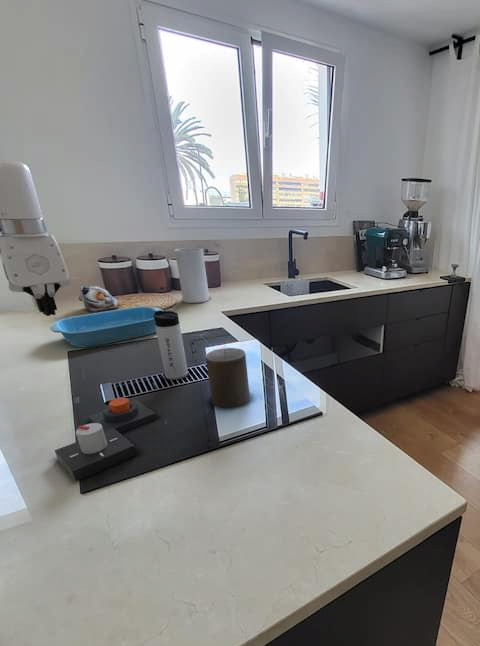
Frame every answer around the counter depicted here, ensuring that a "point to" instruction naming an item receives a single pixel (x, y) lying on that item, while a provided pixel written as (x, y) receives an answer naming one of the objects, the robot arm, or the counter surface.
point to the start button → (119, 405)
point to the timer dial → (91, 438)
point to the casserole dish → (107, 326)
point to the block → (124, 417)
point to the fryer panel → (95, 456)
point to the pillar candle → (228, 377)
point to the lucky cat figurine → (98, 299)
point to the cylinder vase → (192, 275)
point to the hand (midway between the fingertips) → (49, 314)
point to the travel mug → (171, 344)
